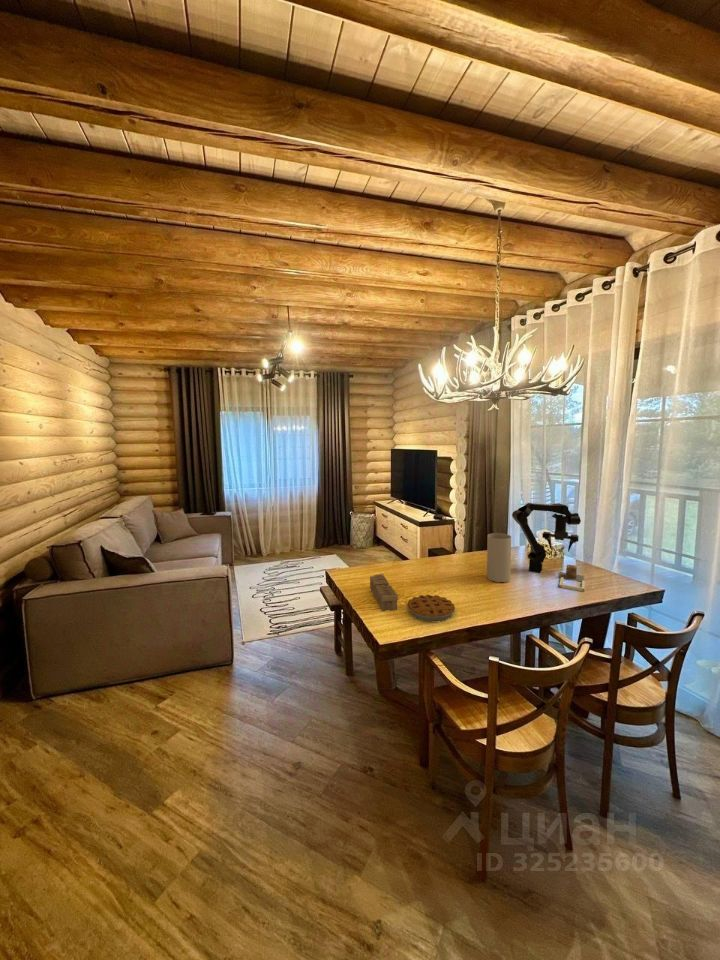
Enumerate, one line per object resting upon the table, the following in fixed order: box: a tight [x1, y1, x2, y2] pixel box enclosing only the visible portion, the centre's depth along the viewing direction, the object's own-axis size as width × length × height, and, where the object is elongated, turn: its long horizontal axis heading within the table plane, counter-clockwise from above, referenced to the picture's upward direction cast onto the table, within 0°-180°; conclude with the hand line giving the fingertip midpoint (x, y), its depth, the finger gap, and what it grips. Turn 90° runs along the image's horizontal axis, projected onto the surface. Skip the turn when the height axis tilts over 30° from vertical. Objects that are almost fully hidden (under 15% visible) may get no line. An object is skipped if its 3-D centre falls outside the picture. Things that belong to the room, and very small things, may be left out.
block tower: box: [369, 573, 399, 612], centre depth 187 cm, size 8×8×29 cm
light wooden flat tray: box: [558, 577, 586, 592], centre depth 199 cm, size 11×13×2 cm
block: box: [565, 564, 578, 579], centre depth 210 cm, size 5×5×6 cm
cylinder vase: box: [486, 532, 512, 583], centre depth 208 cm, size 12×12×25 cm
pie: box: [406, 594, 456, 623], centre depth 172 cm, size 22×22×5 cm
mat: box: [558, 571, 585, 583], centre depth 210 cm, size 12×10×1 cm
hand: (559, 550), depth 220 cm, fingers open, 9 cm apart
